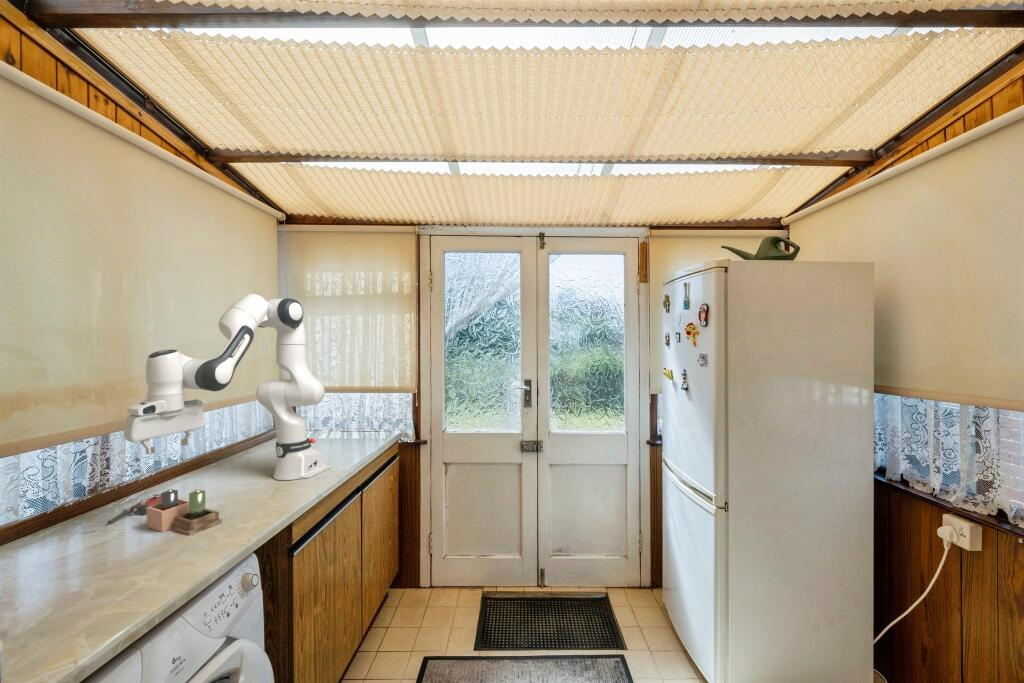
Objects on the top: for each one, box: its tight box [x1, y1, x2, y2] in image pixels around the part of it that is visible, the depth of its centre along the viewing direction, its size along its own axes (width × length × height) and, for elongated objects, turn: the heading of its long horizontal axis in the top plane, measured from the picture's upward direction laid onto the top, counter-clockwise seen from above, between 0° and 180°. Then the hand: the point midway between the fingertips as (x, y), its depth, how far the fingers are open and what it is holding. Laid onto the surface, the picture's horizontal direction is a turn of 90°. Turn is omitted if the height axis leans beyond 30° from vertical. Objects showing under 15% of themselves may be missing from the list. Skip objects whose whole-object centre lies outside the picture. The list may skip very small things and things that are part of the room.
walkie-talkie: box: [107, 493, 161, 524], centre depth 144 cm, size 9×4×20 cm
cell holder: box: [171, 507, 223, 536], centre depth 133 cm, size 9×9×4 cm
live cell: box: [188, 489, 206, 520], centre depth 133 cm, size 4×4×10 cm
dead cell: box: [160, 488, 179, 511], centre depth 134 cm, size 4×4×10 cm
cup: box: [146, 497, 189, 533], centre depth 134 cm, size 8×8×6 cm
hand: (168, 449), depth 134 cm, fingers open, 8 cm apart
